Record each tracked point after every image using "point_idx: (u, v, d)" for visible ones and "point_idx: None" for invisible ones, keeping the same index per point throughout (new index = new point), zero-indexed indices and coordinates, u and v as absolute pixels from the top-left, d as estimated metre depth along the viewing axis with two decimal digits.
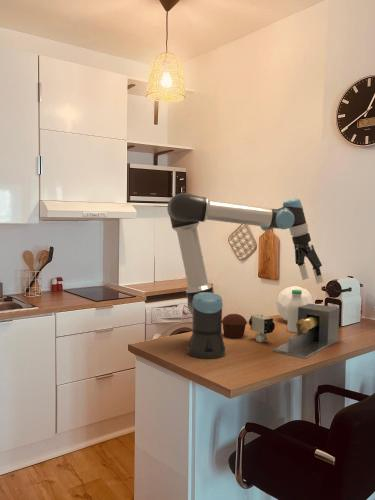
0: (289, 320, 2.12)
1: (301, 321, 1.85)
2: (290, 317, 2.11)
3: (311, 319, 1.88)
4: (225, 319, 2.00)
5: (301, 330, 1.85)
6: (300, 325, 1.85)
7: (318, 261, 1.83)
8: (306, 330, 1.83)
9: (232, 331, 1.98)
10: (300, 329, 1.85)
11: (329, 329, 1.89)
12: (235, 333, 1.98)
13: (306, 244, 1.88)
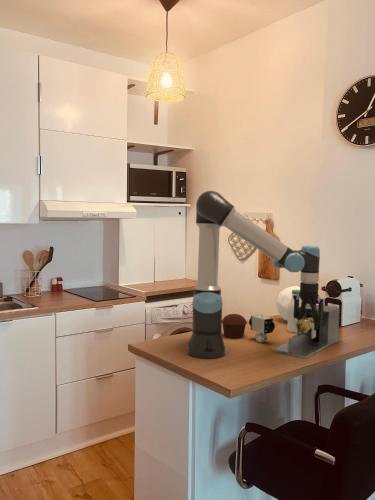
0: (289, 320, 2.12)
1: (301, 321, 1.85)
2: (290, 317, 2.11)
3: (311, 319, 1.88)
4: (225, 319, 2.00)
5: (301, 330, 1.85)
6: (300, 325, 1.85)
7: (322, 316, 1.84)
8: (306, 330, 1.83)
9: (232, 331, 1.98)
10: (300, 329, 1.85)
11: (329, 329, 1.89)
12: (235, 333, 1.98)
13: None
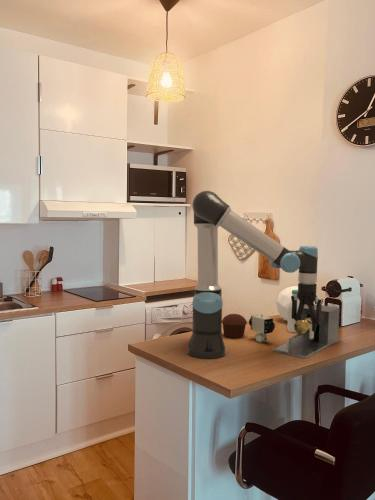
0: (289, 320, 2.12)
1: (299, 322, 1.83)
2: (290, 317, 2.11)
3: (309, 320, 1.86)
4: (225, 319, 2.00)
5: (299, 331, 1.83)
6: (298, 326, 1.83)
7: (320, 317, 1.83)
8: (304, 331, 1.82)
9: (232, 331, 1.98)
10: (298, 330, 1.83)
11: (329, 329, 1.89)
12: (235, 333, 1.98)
13: (316, 295, 1.83)
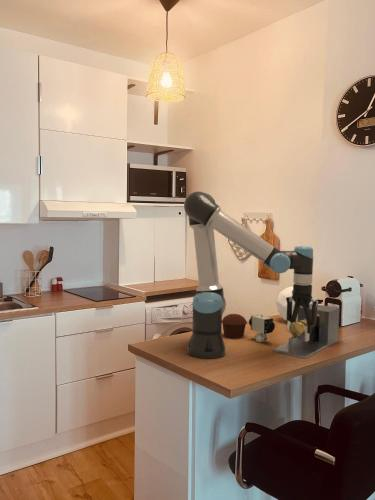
0: None
1: (294, 324, 1.79)
2: None
3: (304, 322, 1.83)
4: (225, 319, 2.00)
5: (294, 333, 1.80)
6: (293, 328, 1.80)
7: (315, 319, 1.79)
8: (299, 333, 1.78)
9: (232, 331, 1.98)
10: (293, 332, 1.80)
11: (329, 329, 1.89)
12: (235, 333, 1.98)
13: (311, 296, 1.79)
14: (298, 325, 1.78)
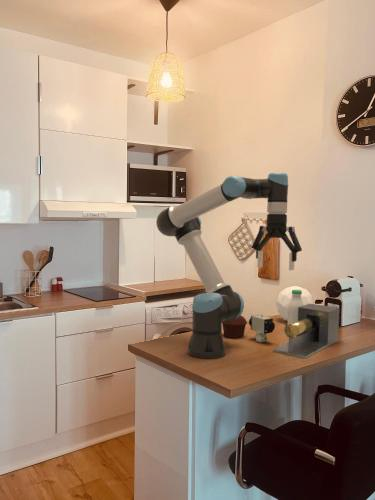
0: (289, 320, 2.12)
1: (289, 326, 1.76)
2: (290, 317, 2.11)
3: (300, 323, 1.79)
4: None
5: (289, 335, 1.76)
6: (288, 330, 1.77)
7: (299, 245, 1.65)
8: (294, 335, 1.75)
9: (232, 331, 1.98)
10: (288, 334, 1.77)
11: (329, 329, 1.89)
12: (235, 333, 1.98)
13: (285, 225, 1.68)
14: (293, 327, 1.75)
